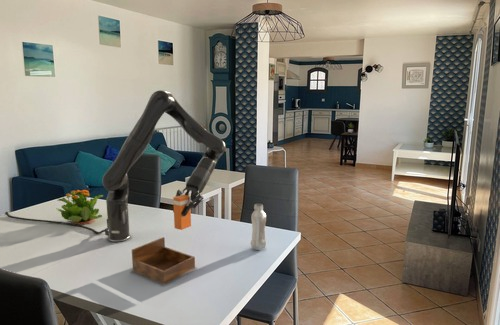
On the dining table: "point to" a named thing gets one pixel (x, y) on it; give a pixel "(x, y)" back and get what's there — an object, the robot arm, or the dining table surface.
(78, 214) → the potted flower
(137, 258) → the drawer
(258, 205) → the plastic bottle
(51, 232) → the dining table surface
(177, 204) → the packet
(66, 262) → the dining table surface
